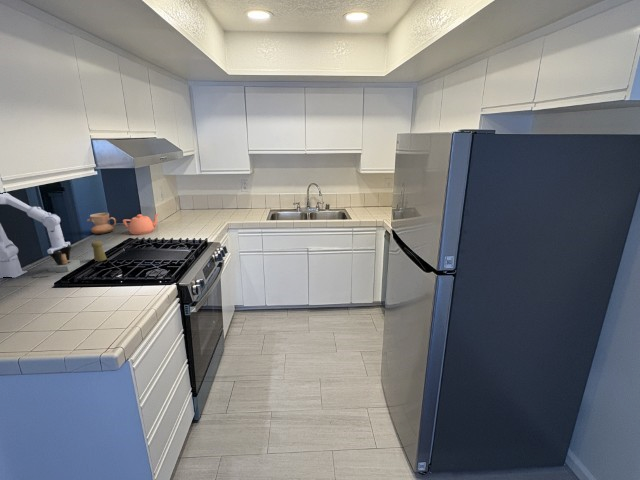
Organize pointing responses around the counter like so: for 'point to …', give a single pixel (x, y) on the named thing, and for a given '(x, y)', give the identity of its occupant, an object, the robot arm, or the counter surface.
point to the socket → (64, 266)
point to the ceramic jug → (101, 223)
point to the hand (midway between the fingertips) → (63, 262)
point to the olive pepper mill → (98, 251)
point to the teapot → (141, 224)
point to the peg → (64, 259)
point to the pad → (44, 274)
